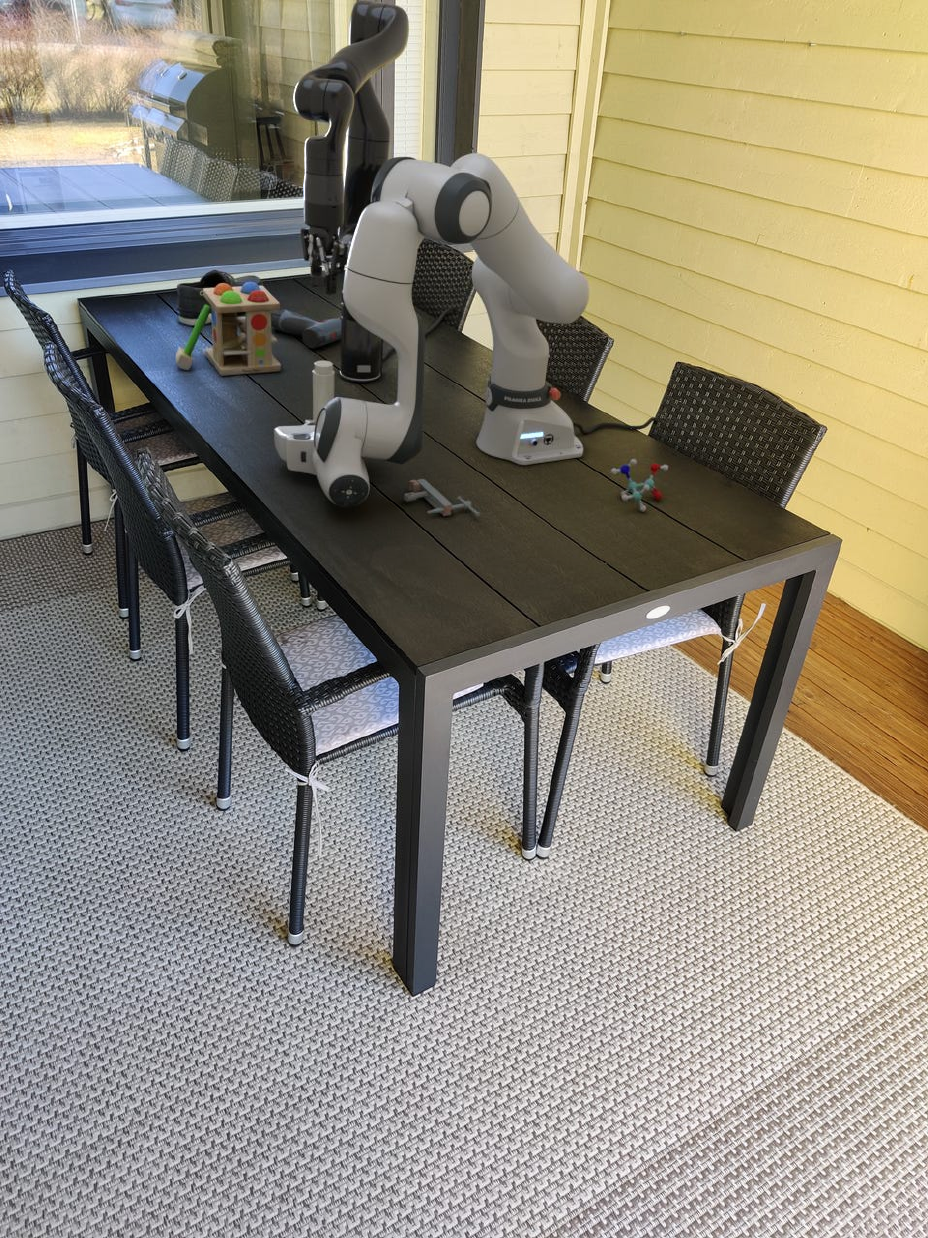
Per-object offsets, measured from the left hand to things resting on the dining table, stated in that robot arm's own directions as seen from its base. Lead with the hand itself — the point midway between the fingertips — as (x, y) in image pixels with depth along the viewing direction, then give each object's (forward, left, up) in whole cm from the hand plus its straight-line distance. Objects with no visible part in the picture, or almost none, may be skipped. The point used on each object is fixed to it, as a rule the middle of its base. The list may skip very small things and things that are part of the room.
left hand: (323, 289), depth 194 cm
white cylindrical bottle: (+13, +11, -27) cm, 32 cm away
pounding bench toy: (-8, -37, -27) cm, 46 cm away
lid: (0, 0, +3) cm, 3 cm away
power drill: (-40, -37, -27) cm, 61 cm away
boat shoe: (-38, -66, -27) cm, 81 cm away
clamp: (+16, +41, -27) cm, 52 cm away
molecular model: (-12, +68, -27) cm, 74 cm away
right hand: (+12, +10, -21) cm, 27 cm away
